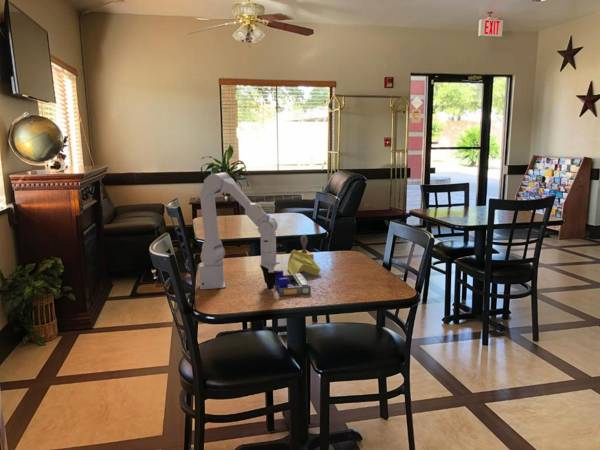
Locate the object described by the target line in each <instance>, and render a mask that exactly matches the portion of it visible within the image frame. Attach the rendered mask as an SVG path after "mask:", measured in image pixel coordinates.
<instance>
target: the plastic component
mask: <svg viewBox="0 0 600 450" xmlns="http://www.w3.org/2000/svg"><path fill="white" fill-rule="evenodd" d="M299 251H300V250H296V249H292V251H291V252H290V255H289V257H288V261H287V270H288V271H287V272H288V273H289V275H291V274H297V273H300V274H301V273H302V272H305V273H307V274H309V275H312V276H316V277H317V276H318V275H319V274H320V272H321V270H322V268H321V267H320V266H319V265H318V264H317V263H316V262H315V260H313V259H312V258H310V257H309V256H307V255H305V254H303V253H301V252H299Z"/></svg>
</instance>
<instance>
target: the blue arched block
mask: <svg viewBox="0 0 600 450" xmlns="http://www.w3.org/2000/svg"><path fill="white" fill-rule="evenodd" d="M277 271H278V275H277V277H276V280H275V285H274V286H275V288H276V289H277V292H278V293H279V288H282V287H293V286H292V284H291V283H290V284H289V283H288V278H284V277H283V275H284V270H277ZM279 295H280V293H279Z"/></svg>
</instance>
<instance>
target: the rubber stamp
mask: <svg viewBox="0 0 600 450" xmlns="http://www.w3.org/2000/svg"><path fill="white" fill-rule="evenodd" d="M299 240H300V243H301V244H300V245H301V246H302V249H301V250H298V251H299V252H301V253H303V254H305V255H307V256H309V257H310V258H312V259H313V260H314V254H313V253H312V252H310V251H308V250H307V249H306V248H307V244H308V241H309V240H308V237H307V235H305V234H304V235H301V236H300V239H299ZM314 261H315V260H314Z"/></svg>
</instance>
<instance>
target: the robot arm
mask: <svg viewBox="0 0 600 450" xmlns="http://www.w3.org/2000/svg"><path fill="white" fill-rule="evenodd" d="M220 193H223V194H227V195H230V196H231V197H232V198H233V199H235V200H236V201H237V202H238V203H239V205H241V206H242V207H243V209H244V212H245V215H246V216H247V217H248V218H249V219H250V221H252V223H253V224H254V225H255V226H256V227H257V231H258V233H259V235H260V265H259V267H260V269H261V271H262V275H263V280H264V283H265V284H266V287H267V290H274V289H275V286H276V285H275V280H276V277H277V275H278V270H275V267H276V266H277V265H280V261H279V260H277V237H276V235H277V234H276V231H277V229H278V222H277V220H276V219H275V218H274V217H271V216H270V215H269V214H267V212H266V211H264V209H263V208H262V205H261V204H258V203H256V202H252V201H251V200H250V199H249V197H248V196H247V195H246V194H245V192H244V191H243V190H242V189H241V188H240V187H239V185H238V184H237V183H236V181H235V180H234V179H233V178H232V177H231V176H230V174H229V173H227V172H223V171H222V172H221V171H220V172H218V173H211V174H209V175H208V176H207V177H205V178H204V180H203V185H202V188H201V191H200V192H199V197H200V207H201V209H200V210H201V217H202V225H203V237H204V241H203V242H202V246H201V252H200V260H201V262H202V263H203V264H198V273H199V275H198V277H199V278H198V284H199V289H200V290H209V289H210V290H211V289H213V290H214V289H224V288H226V282H225V280H224V277H225V276H224V261H223V260H224V258H225V256H226V251H225V248H224V246H223V241H222V240H221V238H219V237H220V236H219V235H220V234H219V226H218V217H217V209H216V197H217V196H218V195H219V194H220Z"/></svg>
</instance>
